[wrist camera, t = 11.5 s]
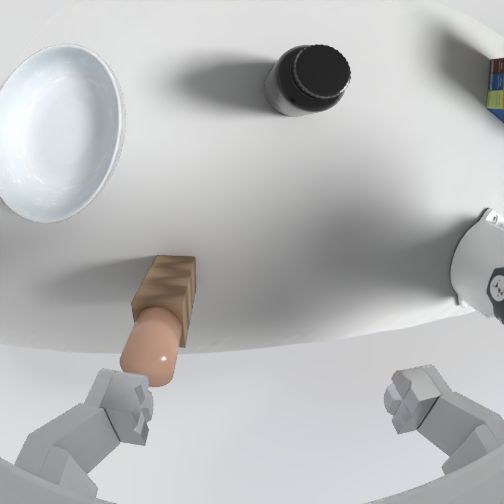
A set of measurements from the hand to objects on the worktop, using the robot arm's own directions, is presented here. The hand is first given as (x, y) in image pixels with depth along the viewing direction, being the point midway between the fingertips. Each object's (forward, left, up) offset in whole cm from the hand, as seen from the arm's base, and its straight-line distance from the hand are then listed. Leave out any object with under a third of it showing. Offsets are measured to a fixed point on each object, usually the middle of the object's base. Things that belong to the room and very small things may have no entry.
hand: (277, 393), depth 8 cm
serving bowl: (+23, -9, -29) cm, 38 cm away
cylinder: (+8, +10, -17) cm, 21 cm away
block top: (+8, +10, -21) cm, 25 cm away
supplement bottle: (-5, -14, -29) cm, 32 cm away
